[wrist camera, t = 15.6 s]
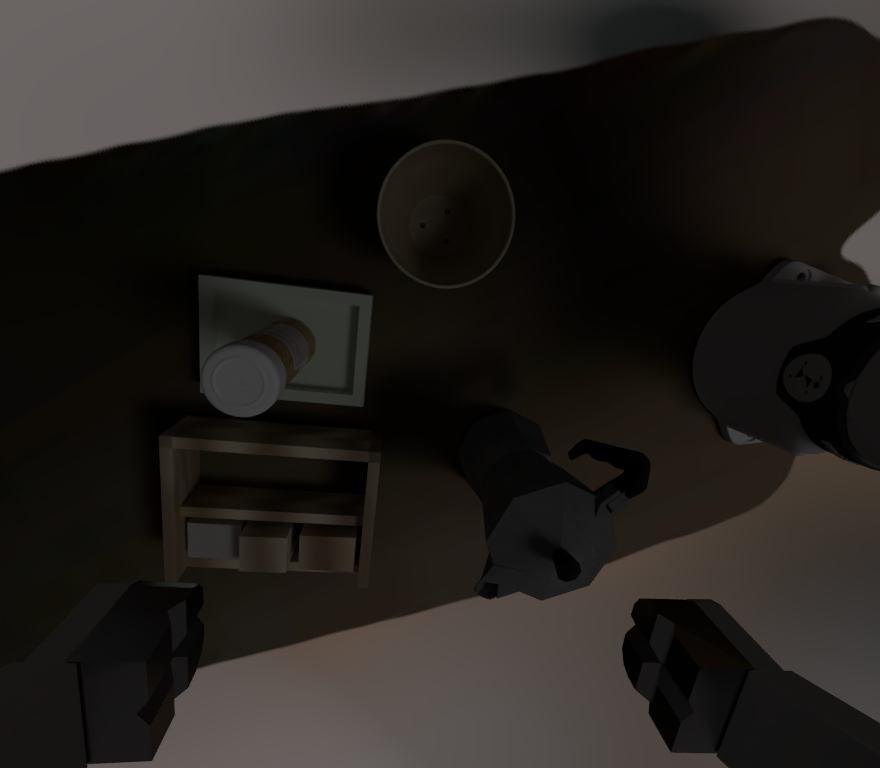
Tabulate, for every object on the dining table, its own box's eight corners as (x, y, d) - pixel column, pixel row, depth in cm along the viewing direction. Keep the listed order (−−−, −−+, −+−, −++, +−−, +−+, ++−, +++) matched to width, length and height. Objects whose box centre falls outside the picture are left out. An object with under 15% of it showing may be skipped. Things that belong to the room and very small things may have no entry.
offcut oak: (360, 508, 44) (355, 538, 39) (357, 538, 45) (353, 571, 40) (310, 505, 44) (299, 535, 39) (308, 536, 44) (298, 569, 40)
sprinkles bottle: (276, 374, 39) (217, 429, 26) (256, 326, 38) (183, 358, 25) (325, 358, 39) (290, 406, 26) (306, 310, 38) (260, 334, 25)
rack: (382, 431, 42) (381, 452, 37) (370, 554, 46) (367, 588, 41) (187, 415, 40) (158, 435, 35) (190, 546, 43) (164, 581, 39)
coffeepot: (478, 520, 46) (528, 675, 29) (422, 460, 43) (440, 589, 26) (595, 432, 44) (722, 538, 27) (545, 364, 42) (649, 433, 25)
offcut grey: (254, 502, 43) (241, 525, 39) (254, 533, 44) (240, 559, 40) (206, 499, 42) (187, 522, 38) (206, 531, 43) (188, 557, 39)
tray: (373, 294, 39) (372, 295, 37) (364, 400, 41) (363, 406, 39) (208, 274, 37) (198, 274, 35) (209, 386, 39) (200, 392, 37)
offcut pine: (299, 505, 43) (286, 538, 38) (298, 536, 44) (285, 572, 39) (258, 503, 43) (239, 536, 38) (258, 534, 44) (239, 571, 39)
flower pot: (511, 192, 37) (537, 175, 31) (468, 300, 40) (483, 308, 33) (403, 142, 36) (405, 113, 29) (364, 259, 38) (357, 258, 31)
